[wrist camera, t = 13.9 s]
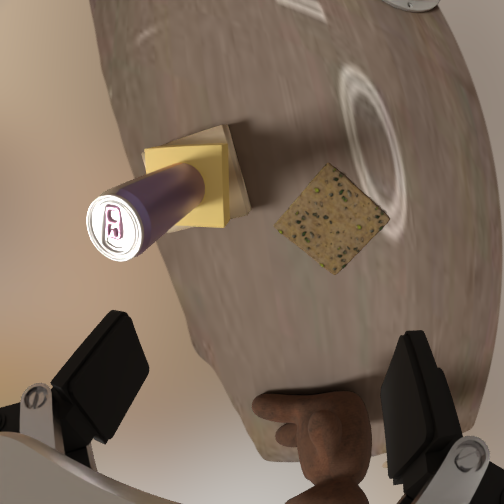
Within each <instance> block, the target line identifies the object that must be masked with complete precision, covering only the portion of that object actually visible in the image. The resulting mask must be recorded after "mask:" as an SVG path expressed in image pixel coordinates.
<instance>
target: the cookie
mask: <svg viewBox="0 0 504 504" xmlns="http://www.w3.org/2000/svg"><path fill="white" fill-rule="evenodd" d="M388 221H389V217H388V216H387V215H386V214H385V212H383V211H382V210H381V209H380V208H379V207H378V206H377V205H375V204H374V202H373V201H372V200H371V199H370V198H369V197H367V196H366V195H365V194H364V193H363V192H362V191H361V190H359V189H358V188H357V187H356V186H355V185H354V183H351V182H350V180H349V179H347V178H346V177H345V175H343V174H342V173H340V172H339V171H338V170H337V169H336V168H334V167H333V166H332V165H331V164H330V163H327V164H326V165H325V166H324V167H323V168H322V169H321V171H320V172H319V173H318V174H317V175H316V176H315V178H314V179H313V180H312V181H311V182H310V183H309V184H308V186H307V187H306V188H305V190H304V191H303V192H302V193H301V195H300V196H299V197H298V198H297V199H296V200H295V201H294V203H293V204H291V206H290V207H289V209H288V210H287V211H286V212H285V213H284V214H283V215H282V217H281V218H280V219H279V220H278V221H277V223H275V224H274V227H275V228H276V229H277V230H278V231H279V233H280V234H283V235H284V236H285V237H287V238H288V239H289V240H290V241H291V242H293V243H295V244H296V245H297V246H299V247H300V248H301V249H302V250H303V251H305V252H306V253H307V254H308V255H309V256H311V257H312V258H313V259H314V260H315V261H317V262H318V263H319V264H320V265H321V266H322V267H324V268H326V269H327V270H328V271H329V272H330V273H332V274H334V275H336V274H337V273H338V272H339V271H340V270H341V269H342V268H344V267H345V265H347V263H349V262H350V261H351V259H352V258H353V257H354V256H355V255H356V254H357V253H359V251H360V250H361V249H362V248H363V247H364V246H365V245H366V244H367V243H368V242H369V241H370V240H371V239H372V238H373V237H374V236H375V235H376V234H377V233H378V232H379V231H380V230H381V229H382V228H383V227H384V225H386V224H387V223H388Z"/></svg>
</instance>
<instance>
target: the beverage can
mask: <svg viewBox="0 0 504 504" xmlns="http://www.w3.org/2000/svg"><path fill="white" fill-rule="evenodd" d="M204 193H205V184H204V180H203V177H202V175H201V174H200V172H199V171H198V170H197V169H196V168H195V167H193V166H191V165H189V164H186V163H175V164H172V165H169V166H166V167H164V168H161V169H158V170H156V171H153V172H150V173H148V174H145V175H143V176H140V177H138V178H135V179H133V180H130V181H128V182H126V183H123V184H121V185H118V186H116V187H114V188H111V189H109V190H107V191H105V192H103V193H102V194H101V195H100V196H99V197H98V198H96V199H95V200H94V201H93V202H92V204H91V205H90V207H89V210H88V213H87V229H88V233H89V236H90V238H91V240H92V242H93V244H94V245H95V247H96V248H97V249H98V250H99V251H100V252H101V253H102V254H103V255H104V256H106V257H107V258H109V259H112V260H115V261H128V260H130V259H132V258H133V257H136V256H138V255H140V254H142V253H143V252H144V251H145V250H146V249H147V248H148V247H150V246H151V245H152V244H153V243H154V242H155V241H157V240H158V239H159V238H160V237H161V236H162V235H163V234H165V233H166V232H167V231H168V230H169V229H170V228H172V227H173V226H174V225H175V224H176V223H178V222H179V221H180V220H181V219H182V218H184V217H185V216H186V215H187V214H188V213H190V212H191V211H192V210H193V209H194V208H196V207H197V206H198V205H199V204H200V203H201V201H202V199H203V197H204Z"/></svg>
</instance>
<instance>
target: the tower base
mask: <svg viewBox="0 0 504 504" xmlns="http://www.w3.org/2000/svg"><path fill="white" fill-rule="evenodd" d="M217 143H228V165H229V207H230V219H232V218H237V217H242V216H246V215H248V214H249V212H250V210H251V205H250V201H249V198H248V194H247V190H246V187H245V183H244V180H243V176H242V173H241V169H240V165H239V162H238V158H237V155H236V151H235V148H234V144H233V141H232V137H231V134H230V130H229V127H228V125H220V126H217V127H213V128H210V129H207V130H204V131H201V132H198V133H195V134H192V135H189V136H186V137H183V138H180V139H178V140H175V141H172V142H169V143H167V144H164V145H161V146H172V145H190V144H217ZM141 154H142V158H143V161H144V164H145V167H146V163H145V152H143V153H141ZM192 227H196V226H176V225H174V226H173V227H172V228H170V229H169V230H168V231H167V232H168V233H170V232H175V231H179V230H183V229H188V228H192Z"/></svg>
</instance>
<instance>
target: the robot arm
mask: <svg viewBox="0 0 504 504" xmlns="http://www.w3.org/2000/svg"><path fill="white" fill-rule="evenodd" d="M382 1H384V2H386V3H387V4H389V5H391V6H393V7H396V8H399V9H401V10H405V11H409V12H425V11H428V10H431V9H432V8H434V7H435V6H436V5H437V4H438V3H439V1H440V0H382ZM148 373H149V365H148V362H147V360H146V357H145V355H144V352H143V349H142V347H141V344H140V342H139V339H138V336H137V334H136V331H135V328H134V325H133V322H132V319H131V318H130V317H129V316H128V314H127V313H126V312H122V311H116V310H111V311H110V312H109V313H108V314H107V315H106V316H105V317H104V318H103V320H102V321H101V322H100V323H99V324H98V325H97V326H96V328H95V329H94V330H93V331H92V332H91V334H90V335H89V336H88V337H87V338H86V339H85V340H84V342H83V343H82V344H81V345H80V346H79V348H78V349H77V350H76V351H75V352H74V354H73V355H72V356H71V357H70V359H69V360H68V361H67V362H66V364H65V365H64V366H63V367H62V368H61V370H60V371H59V372H58V373H57V375H56V376H55V377H54V378H53V380H52V381H51V385H52V386H53V388H52V389H50V388H49V386H48V385H46V384H43V383H36V384H34V385H31V386H30V387H28V388H27V389H26V390H25V391H24V393H23V395H22V397H21V402H19V403H16V404H12V405H9V406H5V407H1V408H0V504H181V503H177V502H174V501H170V500H167V499H164V498H161V497H158V496H155V495H152V494H149V493H146V492H144V491H141V490H138V489H136V488H133V487H131V486H128V485H126V484H123V483H121V482H118V481H116V480H114V479H112V478H109V477H107V476H105V475H103V474H101V473H99V472H97V468H96V464H95V460H94V455H93V451H92V446H91V440H92V439H93V438H94V439H95V440H97V441H99V442H101V443H103V444H106V443H107V441H108V439H111V438H112V437H113V436H114V434H115V432H116V431H117V429H118V427H119V425H120V423H121V422H122V420H123V418H124V416H125V414H126V413H127V411H128V409H129V407H130V405H131V404H132V402H133V400H134V398H135V397H136V395H137V393H138V391H139V390H140V388H141V386H142V384H143V383H144V381H145V379H146V377H147V375H148ZM381 403H382V411H383V419H384V428H385V438H386V450H387V464H388V476H389V478H390V479H392V478H393V485H398V484H403V489H404V493H405V494H404V495H403V496H402V498H401V499H400V500H399V501H398V503H397V504H504V469H502V468H500V467H499V466H497V465H495V464H494V463H492V462H490V461H489V460H490V452H489V449H488V446H487V445H486V443H485V442H484V441H483V440H482V439H480V438H478V437H475V436H465V437H463V435H462V431H461V427H460V424H459V420H458V416H457V413H456V409H455V406H454V403H453V399H452V396H451V393H450V390H449V387H448V384H447V381H446V378H445V375H444V373H443V371H442V369H441V368H437V365H436V362H435V360H434V357H433V354H432V351H431V349H430V346H429V343H428V341H427V338H426V336H425V333H424V331H422V330H417V331H406V332H405V334H404V335H401V336H400V337H399V340H398V343H397V346H396V349H395V352H394V355H393V358H392V360H391V363H390V366H389V369H388V371H387V374H386V377H385V379H384V382H383V384H382V387H381Z"/></svg>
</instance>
